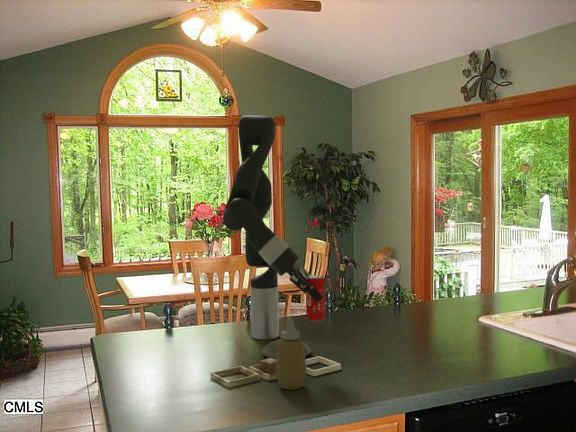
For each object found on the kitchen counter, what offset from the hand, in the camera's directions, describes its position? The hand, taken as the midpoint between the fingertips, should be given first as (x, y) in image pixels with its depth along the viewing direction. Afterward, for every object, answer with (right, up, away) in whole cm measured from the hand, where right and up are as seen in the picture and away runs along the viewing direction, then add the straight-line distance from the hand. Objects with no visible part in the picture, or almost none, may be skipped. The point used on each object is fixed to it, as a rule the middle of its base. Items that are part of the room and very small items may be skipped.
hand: (321, 298), depth 168 cm
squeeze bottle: (-8, -21, -13) cm, 26 cm away
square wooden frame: (-14, -20, -1) cm, 25 cm away
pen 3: (-1, -20, +1) cm, 20 cm away
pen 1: (-24, -21, -6) cm, 32 cm away
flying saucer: (-10, -20, +15) cm, 27 cm away
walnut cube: (-14, -21, -3) cm, 25 cm away
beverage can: (-2, -6, +1) cm, 6 cm away
